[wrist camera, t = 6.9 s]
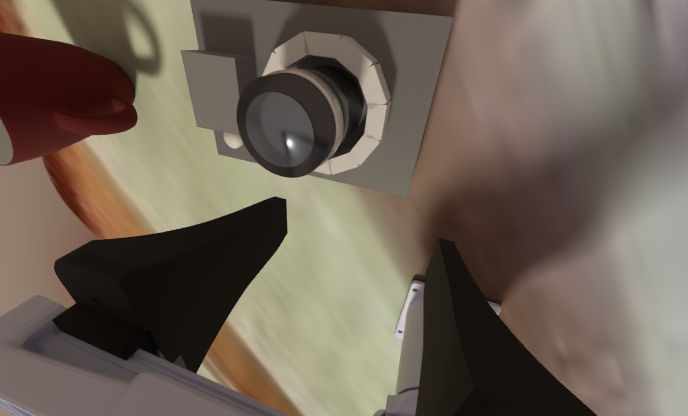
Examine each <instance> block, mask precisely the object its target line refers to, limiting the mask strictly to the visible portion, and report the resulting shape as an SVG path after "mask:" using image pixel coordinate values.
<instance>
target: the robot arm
mask: <svg viewBox="0 0 688 416" xmlns="http://www.w3.org/2000/svg"><path fill="white" fill-rule="evenodd" d="M286 234H287V208H286V199H282V198H279V197H272V198H269V199H266V200H264V201H261V202H259V203H256V204H254V205H251V206H249V207H246V208H244V209H241V210H239V211H236V212H234V213H231V214H228V215H225V216H222V217H220V218H217V219H214V220H211V221H208V222H204V223H201V224H197V225H193V226H190V227H185V228H181V229H176V230H171V231H167V232H162V233H156V234H149V235H142V236H135V237H127V238H116V239H104V240H92V241H90V242H88V243H87V244H85V245H83V246H81V247H79V248H78V249H76V250H74V251H72V252H70V253H68V254H67V255H65V256H63V257H61V258H59V259H58V260H56V261H55V265H54V270H55V272H56V275H57V276H58V278H59V279H60V281H61V282H62V284H63V285H64V286H65V288H66V289H67V291H68V292H69V293H70V295H71V296H72V298H73V299H74V300H75V302H76V304H74V305H73V306H72V307H70V308H69V309H66V308H65V307H64V306H63V305H61V304H59V303H57V302H55V301H53V300H50V299H48V298H46V297H43V296H41V295H35V296H34V297H32V298H30V299H28V300H27V301H25V302H23V303H22V304H20V305H19V306H17V307H15V308H14V309H12V310H10V311H9V312H7V313H5V314H4V315H2V316H1V317H0V407H1V408H2V409H4V410H6V411H7V412H9V413H11V414H12V415H14V416H291V415H289V414H287V413H284V412H282V411H280V410H278V409H275V408H273V407H271V406H268V405H266V404H264V403H262V402H259V401H257V400H255V399H253V398H250V397H248V396H246V395H243V394H241V393H239V392H237V391H234V390H232V389H230V388H228V387H225V386H223V385H221V384H218V383H216V382H214V381H212V380H209V379H207V378H205V377H203V376H200V375H198V374H196V373H197V371H198V369H199V367H200V365H201V363H202V361H203V359H204V358H205V356H206V354H207V352H208V350H209V348H210V346H211V345H212V343H213V341H214V339H215V338H216V336H217V334H218V332H219V331H220V329H221V327H222V325H223V324H224V322H225V321H226V319H227V317H228V316H229V314H230V312H231V311H232V309H233V308H234V306H235V304H236V303H237V301H238V300H239V298H240V297H241V295H242V294H243V292H244V291H245V289H246V288H247V287H248V285H249V284H250V283H251V281H252V280H253V279H254V278H255V277H256V275H257V274H258V273H259V272H260V270H261V269H262V268H263V267H264V266H265V264H266V263H267V262H268V261H269V259H270V258H271V257H272V256H273V254H274V253H275V252H276V251H277V249H278V248H279V246H280V245H281V243H282V241H283V240H284V238H285V236H286ZM414 288H416V289H414ZM500 312H501V307H500V305H499V304H497V303H493V302H490V301H487V300H486V299H485V297H484V295H483V294H482V292H481V291H480V289H479V288H478V286H477V284H476V283H475V281H474V279H473V278H472V276H471V274H470V272H469V271H468V269H467V267H466V265H465V263H464V261H463V259H462V257H461V255H460V253H459V251H458V249H457V247H456V245H455V243H454V242H453V241H449V240H445V239H441V238H438V241H437V244H436V247H435V249H434V252H433V255H432V258H431V260H430V263H429V266H428V269H427V271H426V277H425V283H424V282H421V281H417V280H414V281H412V283H411V286H410V289H409V291H408V294H407V297H406V300H405V303H404V306H403V309H402V312H401V315H400V318H399V321H398V323H397V326H396V329H395V332H394V337H395V338H396V339H398V340H401V341H402V348H401V355H400V363H399V370H398V378H397V385H396V395H388V397H387V403H386V410H384V409H380V410H378V411H376V413H375V414H374V415H373V416H597V415H596V414H595V413H594V412H593V411H592V410H591V409H589V408H588V407H587V406H586V405H585V404H584V403H583V402H582V401H580V400H579V399H578V398H577V397H576V396H575V395H574V394H573V393H571V392H570V391H569V390H568V389H567V388H566V387H565V386H564V385H562V384H561V383H560V382H559V381H558V380H557V379H556V378H555V377H554V376H553V375H552V374H551V373H550V372H549V371H548V370H547V369H546V368H545V367H544V366H543V365H542V364H541V363H540V362H539V361H538V360H537V359H536V358H535V357H534V356H533V355H532V354H531V353H530V352H529V351H528V350H527V349H526V348H525V347H524V346H523V344H522V343H521V342H520V341H519V340H518V339H517V338H516V337H515V335H514V334H513V333H512V332H511V331H510V330H509V329H508V327H507V326H506V325H505V324H504V323H503V321H502V320H501V319H500V317H499V316H498V315H499V313H500Z"/></svg>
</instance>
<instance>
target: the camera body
mask: <svg viewBox="0 0 688 416" xmlns="http://www.w3.org/2000/svg"><path fill="white" fill-rule="evenodd" d="M190 2H191V8H192V13H193V19H194V24H195V29H196V35H197V40H198V46H199V50H186V51H181V54H182V59H183V64H184V68H185V73H186V77H187V82H188V87H189V91H190V96H191V101H192V105H193V110H194V114H195V119H196V124H197V127H202V128H206V129H211V130H214V133H215V139H216V144H217V150H218V154H220V155H224V156H228V157H233V158H237V159H241V160H246V161H250V162H254V163H258V162H257V161H256V160H255V159H254V158H253V157H252V156H251V155H250V153H249V152H248V150H247V149H246V147H245V145H244V143H243V141H242V139H241V137H240V134H239V130H238V126H237V114H236V113H237V105H238V101H239V98H240V96H241V94H242V92H243V90H244V89H245V88H246V86H247V85H248V84H249V83H250V82H252V81H253V80H255V79H256V78H259V77H261V76H265V75H267V74H269V73H271V72H274V71H278V70H284V69H295V68H296V69H304V68H310V67H316V66H321V65H332V66H336V67H339V68H341V69H343V70H344V71H346V72H347V73H348V74H350V75H351V76H352V78H353V79H354V80H355V82H356V83H357V85H358V87H359V89H360V91H361V95H362V99H363V112H362V117H361V120H360V122H359V124H358V126H357V127H356V129H355V130H354V131H353V132H352V133H351V134H350V135H349V136H348V137H347V138H346V139H345V140H344V141H343V142H342V143H341V144H340V145H339V147H338V148H337V150H336V151H335V153H334V154H333V155H332V156H331V157H330V158H329V159H328V160H327V161H326V162H325V163H324V164H323V165H321V166H320V167H318V168H316V169H315V170H314V171H312V172H311V173H309V174H307V175H311V176H315V177H320V178H324V179H328V180H333V181H337V182H341V183H346V184H350V185H354V186H359V187H363V188H367V189H372V190H376V191H380V192H385V193H389V194H393V195H398V196H402V197H407V195H408V191H409V187H410V183H411V179H412V175H413V171H414V168H415V164H416V160H417V156H418V152H419V148H420V145H421V141H422V137H423V133H424V129H425V125H426V121H427V118H428V114H429V110H430V106H431V102H432V98H433V94H434V91H435V87H436V83H437V79H438V75H439V71H440V68H441V64H442V60H443V56H444V52H445V48H446V44H447V41H448V37H449V33H450V29H451V25H452V21H453V18H454V17H447V16H436V15H425V14H414V13H402V12H391V11H380V10H369V9H357V8H346V7H335V6H324V5H313V4H301V3H290V2H279V1H268V0H190Z"/></svg>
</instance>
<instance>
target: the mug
mask: <svg viewBox="0 0 688 416" xmlns="http://www.w3.org/2000/svg"><path fill="white" fill-rule="evenodd" d="M133 102H134V90H133V87H132V84H131V82H130V80H129V78H128V77H127V75H126V74H125V72H124V71H123V70H122V69H121V68H120V67H119V66H118V65H117V64H116V63H114V62H112V61H111V60H108V59H106V58H104V57H102V56H99V55H97V54H95V53H93V52H90V51H88V50H85V49H83V48H80V47H77V46H75V45H71V44H68V43H63V42H58V41H52V40H46V39H40V38H33V37H27V36H21V35H15V34H8V33H2V32H0V165H3V166H4V165H5V166H6V165H11V164H15V163H19V162H23V161H27V160H31V159H34V158H38V157H41V156H45V155H48V154H51V153H54V152H57V151H59V150H61V149H64V148H66V147H68V146H70V145H72V144H74V143H76V142H79V141H81V140H83V139H85V138H87V137H89V136H91V135H107V134H115V133H120V132H124V131H126V130H129V129H131V128H132V127H134V126H135V125H136V123H137V119H138V118H137V112H136V109H135V108H134V106H133V105H132V104H133Z"/></svg>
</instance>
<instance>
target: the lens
mask: <svg viewBox="0 0 688 416" xmlns="http://www.w3.org/2000/svg"><path fill="white" fill-rule="evenodd" d="M362 112H363V99H362V95H361V91H360V89H359V87H358V85H357V83H356V82H355V80H354V79H353V78H352V76H351V75H350V74H348V73H347V72H346V71H344V70H343V69H341V68H339V67H336V66H332V65H321V66H316V67H310V68H304V69H296V68H295V69H284V70H278V71H274V72H271V73H269V74H267V75H265V76H261V77H259V78H256V79H255V80H253V81H252V82H250V83H249V84H248V85H247V86H246V88H245V89H244V90H243V92H242V94H241V96H240V98H239V101H238V105H237V113H236V114H237V126H238V130H239V134H240V137H241V139H242V141H243V143H244V145H245V147H246V149H247V150H248V152H249V153H250V155H251V156H252V157H253V158H254V159H255V160H256V161H257V162H258V163H259V164H260V165H261V166H262V167H264V168H265V169H267V170H268V171H270V172H272V173H274V174H276V175H279V176H283V177H290V178H295V177H302V176H305V175H307V174H309V173H311V172H312V171H314V170H315V169H316V168H318V167H320V166H321V165H323V164H324V163H325V162H326V161H327V160H328V159H329V158H330V157H331V156H332V155H333V154H334V153H335V151H336V150H337V148H338V147H339V145H340V144H341V143H342V142H343V141H344V140H345V139H346V138H347V137H348V136H349V135H350V134H351V133H352V132H353V131H354V130H355V129H356V127H357V126H358V124H359V122H360V120H361V117H362Z"/></svg>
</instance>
